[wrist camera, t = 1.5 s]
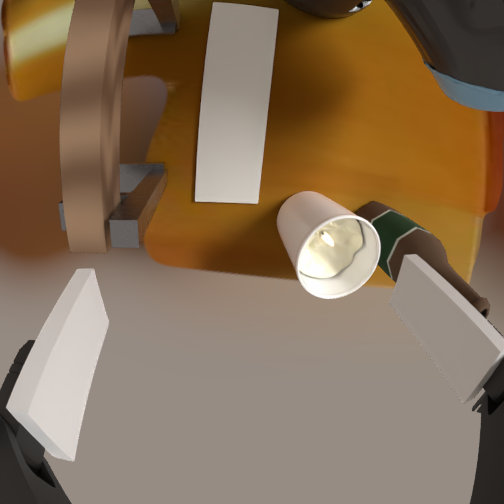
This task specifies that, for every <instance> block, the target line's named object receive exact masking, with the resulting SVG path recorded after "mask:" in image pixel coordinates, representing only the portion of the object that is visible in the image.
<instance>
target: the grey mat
mask: <svg viewBox="0 0 504 504" xmlns="http://www.w3.org/2000/svg"><path fill="white" fill-rule="evenodd" d="M278 14H279V10H278V9H272V8H266V7H259V6H252V5H243V4H233V3H221V2H213V6H212V13H211V20H210V27H209V34H208V42H207V50H206V58H205V67H204V77H203V86H202V97H201V108H200V120H199V134H198V149H197V166H196V186H195V202H228V203H252V204H258V198H259V189H260V180H261V170H262V161H263V152H264V143H265V134H266V125H267V115H268V106H269V97H270V88H271V79H272V70H273V60H274V51H275V42H276V33H277V24H278Z"/></svg>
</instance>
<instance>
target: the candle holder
mask: <svg viewBox="0 0 504 504" xmlns="http://www.w3.org/2000/svg"><path fill="white" fill-rule="evenodd" d="M277 228H278V232H279V235H280V237H281V239H282V242H283V244H284V246H285V249H286V251H287V253H288V255H289V257H290V260H291V262H292V264H293V267H294V269H295V271H296V274H297V277H298V280H299V282H300V284H301V285H302V287H303V288H304V289H305V290H306V291H307V292H309V293H310V294H312V295H314V296H316V297H319V298H325V299H334V298H339V297H343V296H346V295H348V294H350V293H351V292H354V291H355V290H357V289H358V288H360V287H361V286H362V285H363V284H364V283H365V282H366V281H367V280H368V279H369V278H370V276H371V275H372V273H373V272H374V270H375V268H376V266H377V264H378V261H379V257H380V248H381V247H380V239H379V236H378V233H377V231H376V230H375V228H374V227H373V226H372V224H370V223H369V222H368V221H367V220H365V219H364V218H362V217H359V216H357V215H356V214H354V213H353V212H351V211H349V210H348V209H346V208H344V207H343V206H341V205H339V204H338V203H336V202H334V201H333V200H331V199H329V198H327V197H326V196H324V195H322V194H320V193H317V192H313V191H303V192H299V193H296V194H294V195H292V196H291V197H289V198H288V199H287V200H286V201H285V202H284V203H283V205H282V206H281V208H280V210H279V213H278V216H277Z"/></svg>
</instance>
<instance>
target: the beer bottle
mask: <svg viewBox="0 0 504 504" xmlns="http://www.w3.org/2000/svg"><path fill="white" fill-rule="evenodd" d="M356 215H357V216H359V217H362V218H364V219H365V220H367V221H368V222H369V223H370V224H372V226H373V227H374V228H375V230H376V231H377V233H378V236H379V239H380V247H381V248H380V257H379V261H378V265H379V266H380V267H381V268H382V269H383V271H384V272H385V273H386V274H387V275H388V276H389V277H390V278H391V279H392V280H393V281H395V282H397V279H398V275H399V272H400V269H401V265H402V262H403V258H404V255H411V254H417V255H418V256H419V257H420V258H421V259H423V260H424V261H425V262H426V263H427V264H428V265H429V266H431V267H432V268H433V269H434V270H435V271H436V272H437V273H438V274H440V275H441V276H442V277H443V278H444V279H445V280H446V281H447V282H448V283H449V284H450V285H452V286H453V287H454V288H455V289H456V290H457V291H458V292H459V293H460V294H461V295H462V296H463V297H464V298H465V299H466V300H467V301H468V302H469V303H470V304H471V305H472V306H473V307H474V308H475V309H477V310H478V311H480V312H481V313H482V315H483V316H484V317H485V318H486V317H487V316H488V314H489V310H490V304H489V302H488V300H487V299H486V298H482V297H480V296H479V295H478V294H477V293H476V292H475V291H474V290H473V289H472V288H471V287H470V286H469V285H468V284H467V283H466V282H465V281H464V280H463V279H462V278H461V277H460V276H459V275H458V274H457V273H456V272H455V271H454V270H453V268H452V267H451V266H450V264H449V263H448V260H447V255H446V251H445V249H444V247H443V245H442V243H441V242H440V240H439V239H437V238H436V237H435V236H434V235H433V234H431V233H430V232H428V231H427V230H425V229H424V228H422V227H421V226H419V225H418V224H416V223H415V222H413V221H412V220H410V219H409V218H407V217H406V216H404V215H402V214H401V213H399V212H398V211H396V210H394V209H392V208H390V207H388V206H386V205H383V204H381V203H378V202H376V201H372V202H371V203H369V204H367V205H365V206H364V207H362V208H360V209H358V211H357V213H356Z"/></svg>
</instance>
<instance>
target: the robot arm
mask: <svg viewBox="0 0 504 504" xmlns="http://www.w3.org/2000/svg"><path fill="white" fill-rule="evenodd" d="M285 1H287V2H288V3H289V4H291V5H292V6H294V7H296V8H298V9H300V10H302V11H304V12H307V13H309V14H312V15H316V16H320V17H326V18H342V17H347V16H350V15H353V14H355V13H357V12H359V11H361V10H363V9H364V8H366V7H367V6H368V5H369V4H370V3H371V2H372V0H285ZM385 1H386V3H387V4H388V5H389V6H390V8H391V9H392V11H393V12H394V13H395V15H396V16H397V17H398V19H399V20H400V22H401V23H402V25H403V26H404V28H405V29H406V31H407V32H408V34H409V35H410V37H411V38H412V40H413V42H414V43H415V45H416V47H417V48H418V50H419V52H420V54H421V55H422V59H423V61H424V63H425V65H426V66H427V68H428V69H429V70H430V71H431V72H432V74H433V76H434V77H435V79H436V81H437V83H438V85H439V86H440V88H441V90H442V91H443V92H444V93H445V94H446V95H447V96H448V97H449V98H451V99H452V100H454V101H457V102H458V103H459V104H461V105H464V106H466V107H469V108H473V109H478V110H484V111H504V0H385ZM389 304H390V305H391V307H392V308H393V309H394V310H395V312H396V313H397V314H398V316H399V317H400V318H401V319H402V321H403V322H404V323H405V325H406V326H407V327H408V328H409V330H410V331H411V332H412V334H413V335H414V336H415V338H416V339H417V340H418V342H419V343H420V344H421V346H422V347H423V348H424V350H425V351H426V352H427V354H428V355H429V356H430V358H431V359H432V360H433V362H434V363H435V365H436V366H437V367H438V369H439V370H440V371H441V373H442V374H443V376H444V377H445V379H446V380H447V382H448V383H449V384H450V386H451V387H452V389H453V390H454V392H455V393H456V395H457V396H458V398H459V399H460V401H461V402H462V403H463V404H464V403H466V402H468V401H470V400H471V399H473V398H475V396H476V395H477V394H478V393H479V391H480V390H481V389H482V388H484V390H485V392H484V394H483V395H482V396H481V397H480V399H479V400H478V401H477V402H476V404H475V405H474V406H473V408H472V411H474V410H475V409H476V408H477V407H478V406H479V405H480V404H481V406H480V408H479V409H478V410H477V412H479V413H481V430H480V443H479V453H478V462H477V468H476V475H475V481H474V486H473V492H472V496H471V501H470V504H504V337H503V336H502V335H501V333H500V332H499V331H498V330H497V329H496V328H495V327H494V326H492V324H491V323H490V322H489V321H488V320H486V318H485V317H484V316H483V315H482V313H481V312H480V311H478V310H477V309H475V308H474V307H473V306H472V305H471V304H470V303H469V302H468V301H467V300H466V299H465V298H464V297H463V296H462V295H461V294H460V293H459V292H458V291H457V290H456V289H455V288H454V287H453V286H452V285H450V284H449V283H448V282H447V281H446V280H445V279H444V278H443V277H442V276H441V275H440V274H438V273H437V272H436V271H435V270H434V269H433V268H432V267H431V266H429V265H428V264H427V263H426V262H425V261H424V260H423V259H421V258H420V257H419V256H418V255H417V254H411V255H404V258H403V262H402V265H401V269H400V272H399V275H398V279H397V282H396V285H395V288H394V291H393V294H392V297H391V300H390V303H389ZM108 326H109V321H108V317H107V314H106V311H105V308H104V304H103V301H102V297H101V294H100V290H99V287H98V283H97V279H96V275H95V271H94V269H77V270H76V272H75V273H74V275H73V276H72V278H71V280H70V281H69V283H68V284H67V286H66V288H65V289H64V291H63V293H62V294H61V296H60V298H59V299H58V301H57V303H56V304H55V306H54V308H53V310H52V312H51V313H50V315H49V317H48V318H47V320H46V322H45V324H44V326H43V328H42V329H41V331H40V333H39V335H38V337H37V339H36V341H34V340H29V341H28V342H27V343H26V344H25V345H24V346H23V347H22V348H21V349H20V350H19V352H18V354H17V355H16V358H15V359H14V364H12V366H11V368H10V370H9V373H8V374H7V376H6V378H5V381H4V383H3V385H2V388H1V390H0V504H71V502H70V500H69V499H68V497H67V496H66V494H65V492H64V491H63V489H62V487H61V486H60V484H59V482H58V480H57V479H56V477H55V475H54V473H53V471H52V469H51V468H50V466H49V464H48V462H47V461H46V459H45V458H44V457H43V455H44V451H45V449H46V450H47V451H48V452H49V453H50V454H51V455H52V456H53V457H56V458H60V459H65V460H69V461H74V460H75V454H76V448H77V443H78V438H79V433H80V428H81V424H82V419H83V414H84V410H85V406H86V402H87V397H88V394H89V390H90V386H91V382H92V379H93V375H94V371H95V368H96V364H97V361H98V357H99V354H100V351H101V348H102V344H103V341H104V338H105V335H106V332H107V329H108Z"/></svg>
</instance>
